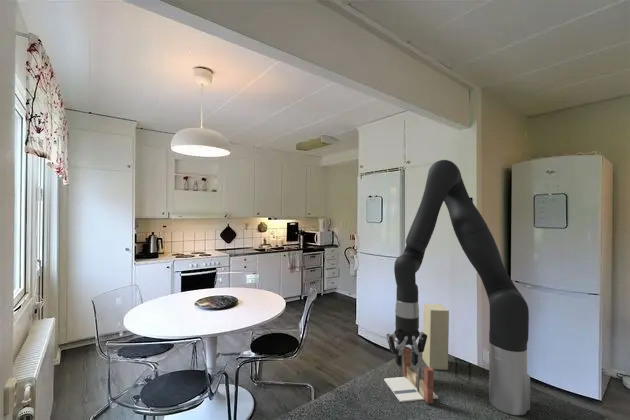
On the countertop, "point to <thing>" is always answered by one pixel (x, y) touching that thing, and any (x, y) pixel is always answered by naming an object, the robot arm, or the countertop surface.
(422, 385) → the brown piece
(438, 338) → the upright wooden block
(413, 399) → the card
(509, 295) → the robot arm
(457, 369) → the countertop surface
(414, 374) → the toy gate half
